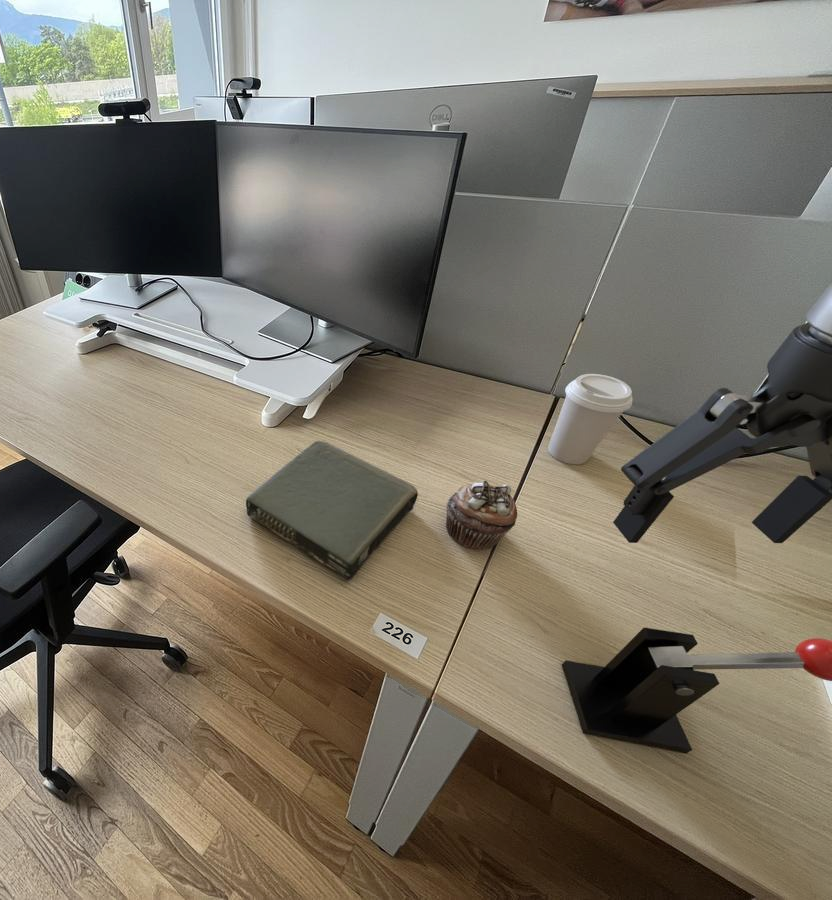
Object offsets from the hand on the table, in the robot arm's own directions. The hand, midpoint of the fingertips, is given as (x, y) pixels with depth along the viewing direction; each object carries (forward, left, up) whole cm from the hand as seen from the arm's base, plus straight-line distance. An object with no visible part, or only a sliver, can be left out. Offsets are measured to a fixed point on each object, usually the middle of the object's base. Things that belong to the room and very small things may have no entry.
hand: (694, 532), depth 47 cm
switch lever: (-10, -3, -10) cm, 14 cm away
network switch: (+25, +31, -22) cm, 45 cm away
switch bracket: (-8, +3, -22) cm, 23 cm away
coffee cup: (+36, -16, -22) cm, 45 cm away
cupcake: (+19, +9, -22) cm, 30 cm away
